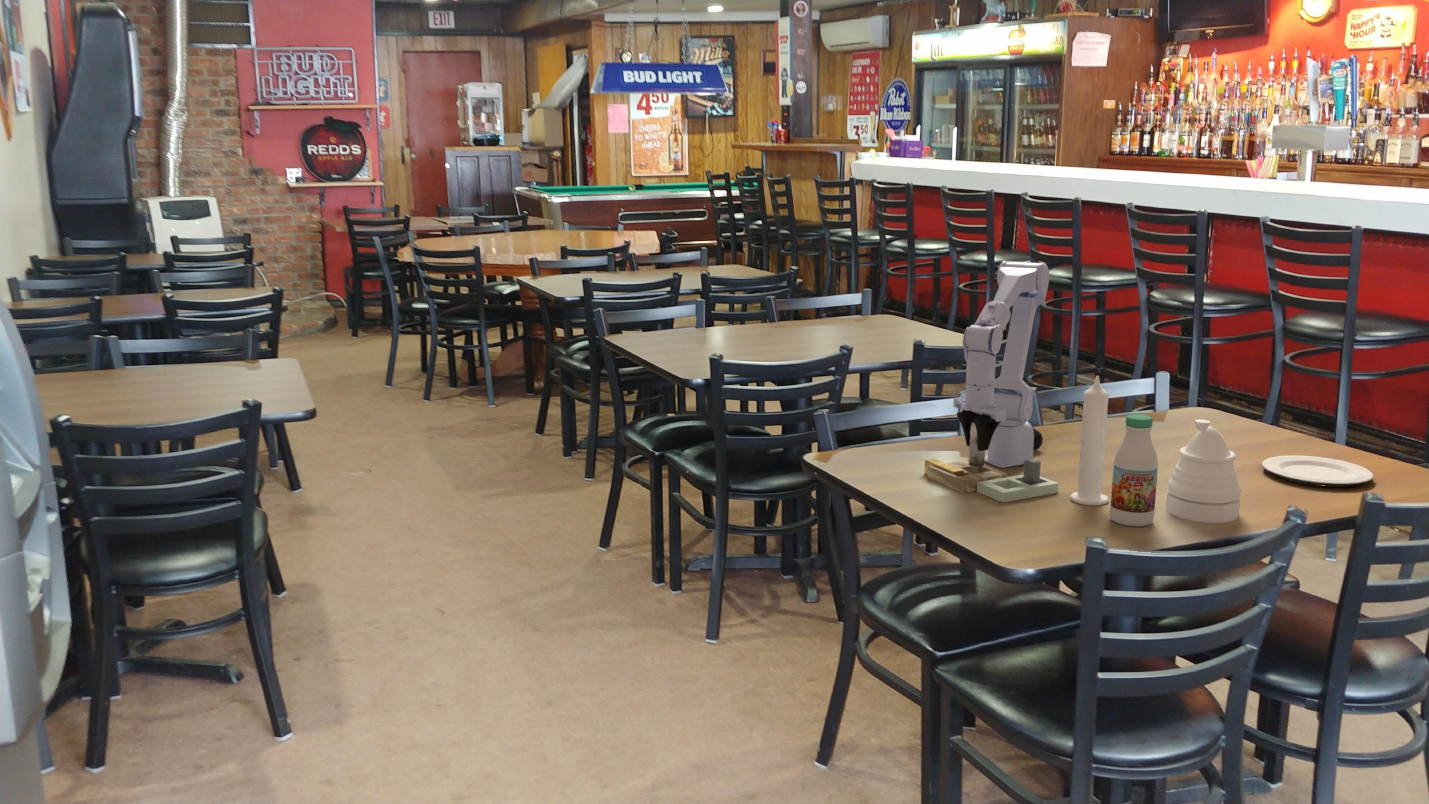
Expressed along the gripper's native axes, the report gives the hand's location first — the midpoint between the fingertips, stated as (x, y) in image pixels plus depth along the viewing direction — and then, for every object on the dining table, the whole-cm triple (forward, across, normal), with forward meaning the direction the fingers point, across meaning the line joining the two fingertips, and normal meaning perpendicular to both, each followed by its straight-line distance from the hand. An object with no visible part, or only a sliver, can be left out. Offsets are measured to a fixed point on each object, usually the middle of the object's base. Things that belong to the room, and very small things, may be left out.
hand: (977, 447), depth 236 cm
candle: (+7, +21, +11) cm, 25 cm away
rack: (+7, +10, +2) cm, 13 cm away
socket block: (+7, 0, -2) cm, 7 cm away
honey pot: (+7, +36, +25) cm, 44 cm away
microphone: (+8, -20, +26) cm, 34 cm away
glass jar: (+4, 0, 0) cm, 4 cm away
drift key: (+7, -4, -5) cm, 10 cm away
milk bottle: (+7, +34, +9) cm, 36 cm away
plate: (+8, +30, +65) cm, 72 cm away
